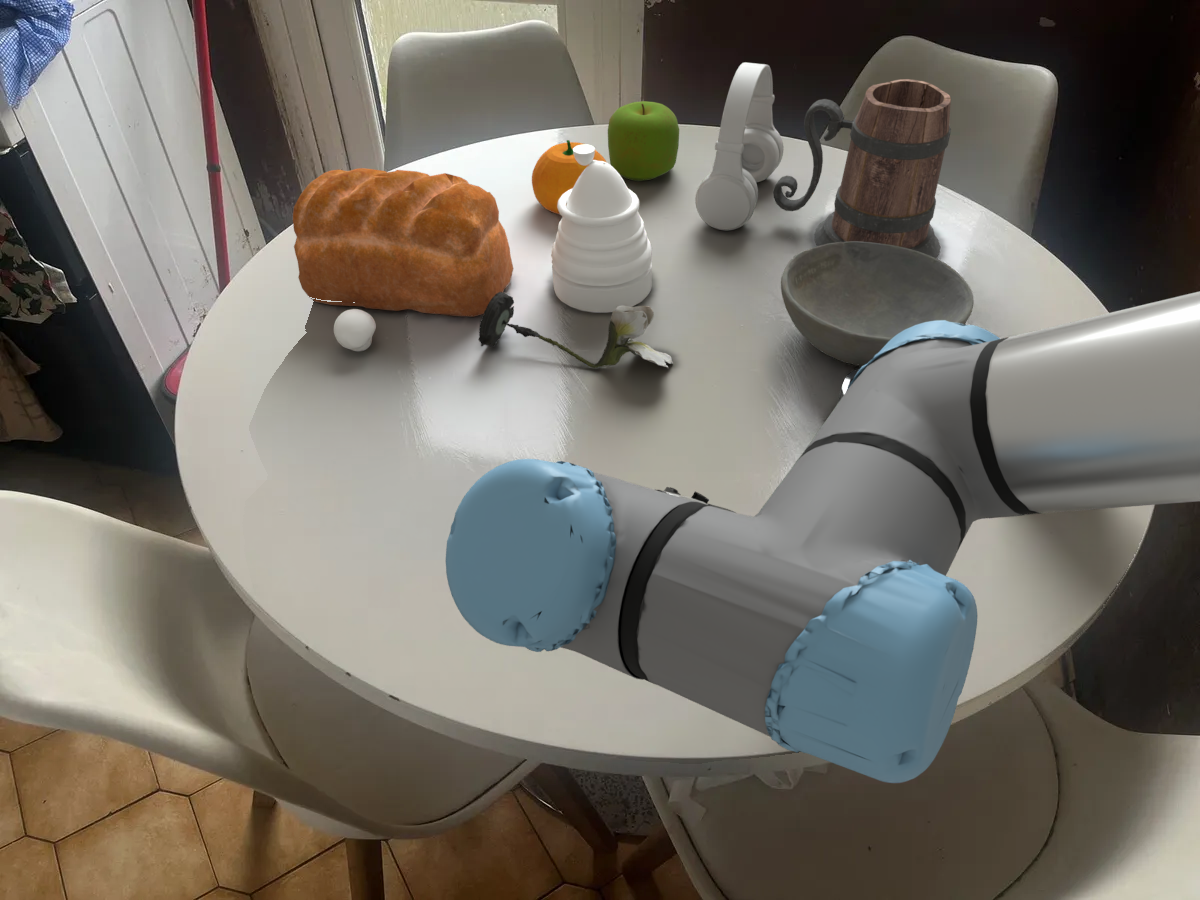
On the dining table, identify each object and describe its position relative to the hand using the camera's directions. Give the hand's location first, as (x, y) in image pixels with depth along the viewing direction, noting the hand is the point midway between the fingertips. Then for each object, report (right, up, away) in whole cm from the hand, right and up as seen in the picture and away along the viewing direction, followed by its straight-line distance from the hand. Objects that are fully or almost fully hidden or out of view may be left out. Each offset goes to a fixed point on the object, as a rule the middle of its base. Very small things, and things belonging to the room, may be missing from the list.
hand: (809, 584), depth 63 cm
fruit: (-20, +46, +65) cm, 82 cm away
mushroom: (-44, +22, +40) cm, 64 cm away
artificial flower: (-18, +21, +38) cm, 47 cm away
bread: (-41, +31, +50) cm, 71 cm away
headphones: (+5, +47, +64) cm, 80 cm away
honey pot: (-15, +31, +49) cm, 60 cm away
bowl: (+16, +23, +38) cm, 47 cm away
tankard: (+20, +40, +56) cm, 72 cm away
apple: (-9, +54, +72) cm, 90 cm away
